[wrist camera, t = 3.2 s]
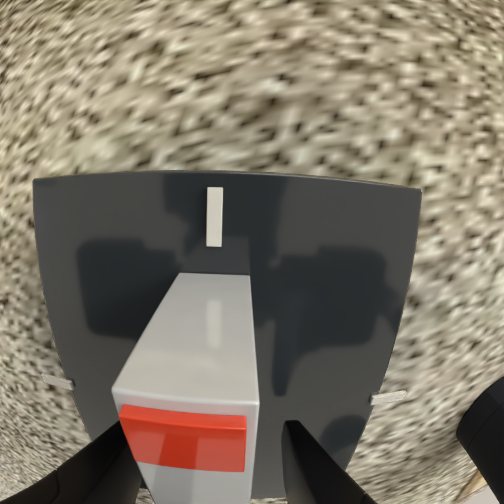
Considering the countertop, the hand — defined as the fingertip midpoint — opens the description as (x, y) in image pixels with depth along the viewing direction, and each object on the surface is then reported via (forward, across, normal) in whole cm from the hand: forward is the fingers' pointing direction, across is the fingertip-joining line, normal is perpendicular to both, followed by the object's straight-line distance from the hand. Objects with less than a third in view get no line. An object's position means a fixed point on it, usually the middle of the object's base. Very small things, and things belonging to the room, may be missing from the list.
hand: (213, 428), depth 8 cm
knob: (+1, 0, 0) cm, 1 cm away
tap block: (+4, 0, 0) cm, 4 cm away
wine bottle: (+4, -19, +7) cm, 21 cm away
